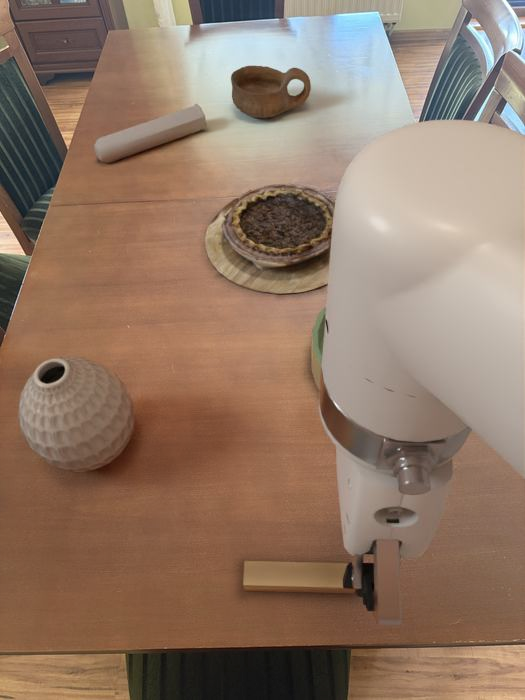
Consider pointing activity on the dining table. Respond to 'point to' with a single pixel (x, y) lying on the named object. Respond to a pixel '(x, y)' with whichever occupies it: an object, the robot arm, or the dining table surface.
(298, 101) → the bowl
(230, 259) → the pie
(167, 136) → the tube
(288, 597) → the dining table surface
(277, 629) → the dining table surface
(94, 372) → the vase
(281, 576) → the stick
